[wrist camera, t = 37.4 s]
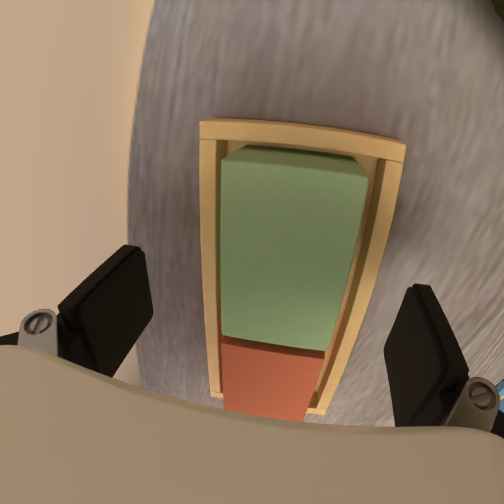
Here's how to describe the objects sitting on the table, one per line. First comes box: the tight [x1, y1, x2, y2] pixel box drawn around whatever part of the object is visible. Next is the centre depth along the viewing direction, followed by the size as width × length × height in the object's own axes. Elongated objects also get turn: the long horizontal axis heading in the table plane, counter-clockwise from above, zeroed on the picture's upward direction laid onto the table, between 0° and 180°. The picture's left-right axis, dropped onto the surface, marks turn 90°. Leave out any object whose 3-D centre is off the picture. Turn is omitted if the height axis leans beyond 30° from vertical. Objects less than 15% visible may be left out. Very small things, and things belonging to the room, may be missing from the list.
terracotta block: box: [221, 335, 325, 422], centre depth 17 cm, size 8×5×4 cm, turn 177°
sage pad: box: [220, 144, 369, 351], centre depth 13 cm, size 8×5×4 cm, turn 177°
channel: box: [199, 118, 406, 415], centre depth 16 cm, size 19×9×2 cm, turn 177°
